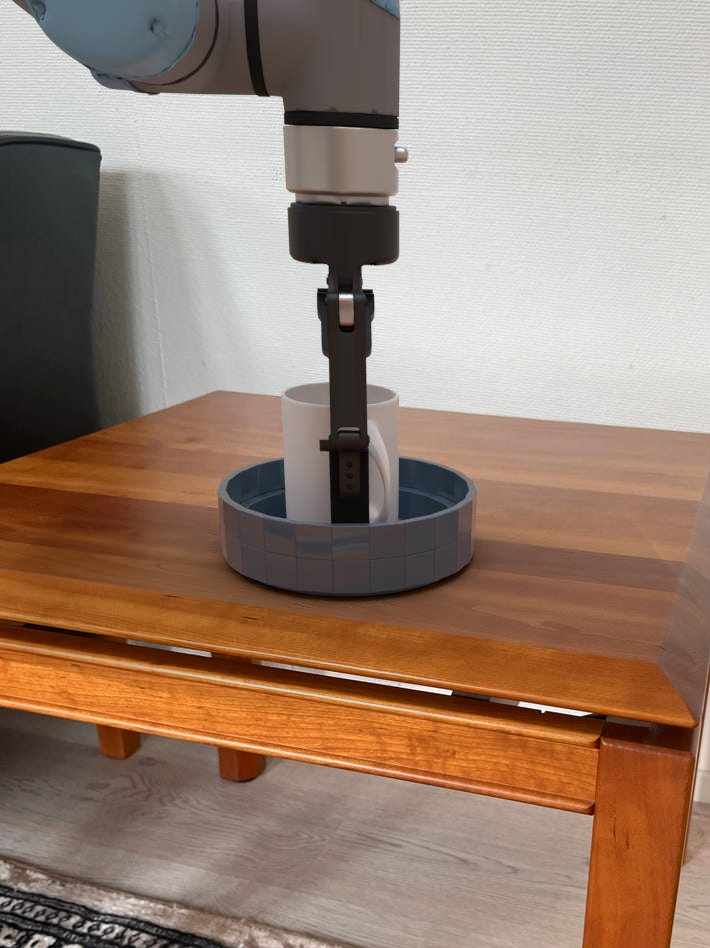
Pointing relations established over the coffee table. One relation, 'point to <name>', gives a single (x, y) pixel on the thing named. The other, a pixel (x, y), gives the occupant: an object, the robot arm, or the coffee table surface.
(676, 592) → the coffee table surface
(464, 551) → the bowl
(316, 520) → the mug
